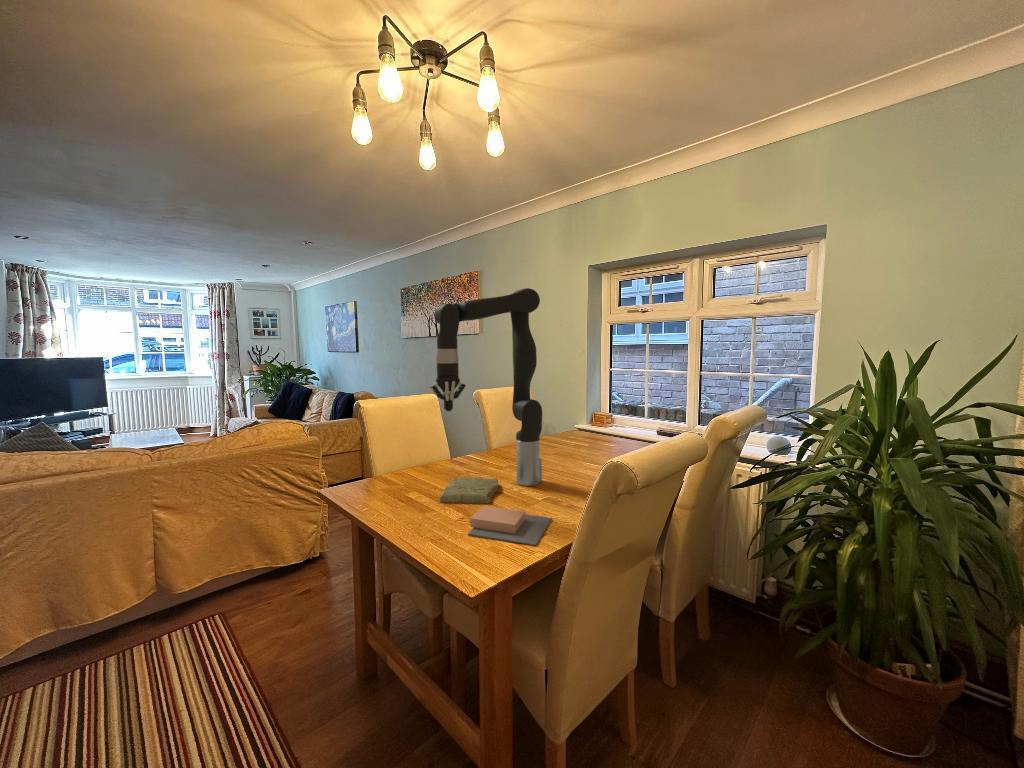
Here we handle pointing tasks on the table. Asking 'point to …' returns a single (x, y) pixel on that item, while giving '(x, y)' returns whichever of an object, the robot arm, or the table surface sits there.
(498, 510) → the glazed tile
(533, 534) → the charcoal mat
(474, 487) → the olive green flat block
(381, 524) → the table surface
